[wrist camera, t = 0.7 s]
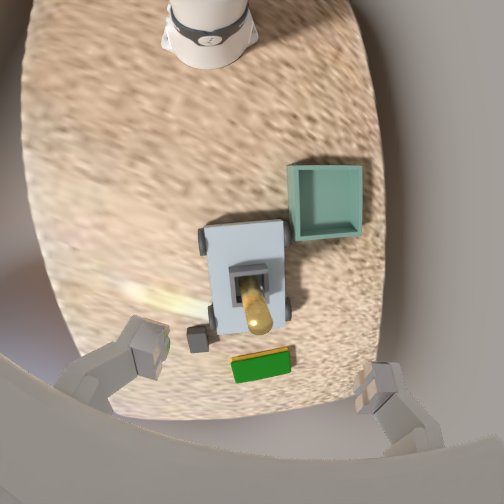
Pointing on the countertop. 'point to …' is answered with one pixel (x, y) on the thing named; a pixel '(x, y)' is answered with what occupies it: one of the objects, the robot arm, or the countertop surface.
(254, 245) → the trolley
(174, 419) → the countertop surface
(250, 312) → the pin
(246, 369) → the dish sponge
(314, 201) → the tray
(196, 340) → the wheel chock
